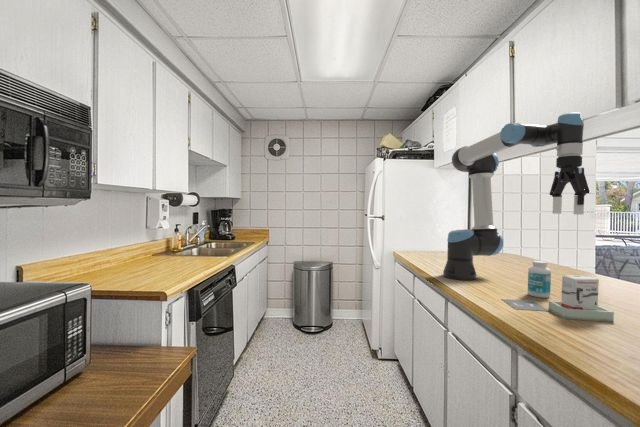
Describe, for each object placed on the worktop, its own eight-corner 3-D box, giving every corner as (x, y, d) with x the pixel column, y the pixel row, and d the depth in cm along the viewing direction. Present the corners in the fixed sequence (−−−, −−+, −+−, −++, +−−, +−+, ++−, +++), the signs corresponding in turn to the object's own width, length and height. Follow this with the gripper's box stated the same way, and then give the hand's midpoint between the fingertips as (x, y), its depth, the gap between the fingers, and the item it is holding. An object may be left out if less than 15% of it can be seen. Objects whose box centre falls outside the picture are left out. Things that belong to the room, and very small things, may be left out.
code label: (501, 299, 121) (501, 299, 121) (533, 301, 120) (533, 300, 120) (515, 309, 110) (515, 308, 110) (551, 311, 108) (551, 311, 108)
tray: (548, 309, 110) (548, 300, 110) (592, 312, 108) (593, 303, 108) (564, 318, 101) (565, 309, 101) (613, 321, 99) (613, 312, 99)
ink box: (573, 316, 102) (574, 278, 101) (560, 311, 106) (561, 275, 106) (598, 315, 102) (599, 278, 102) (584, 310, 107) (585, 275, 107)
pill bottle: (523, 294, 130) (524, 260, 129) (534, 292, 133) (535, 259, 132) (542, 299, 123) (543, 263, 122) (554, 297, 126) (555, 262, 126)
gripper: (540, 161, 132) (539, 213, 133) (578, 150, 108) (576, 214, 108) (561, 161, 131) (559, 213, 132) (604, 150, 106) (601, 215, 107)
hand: (567, 214), depth 120 cm, fingers open, 13 cm apart
